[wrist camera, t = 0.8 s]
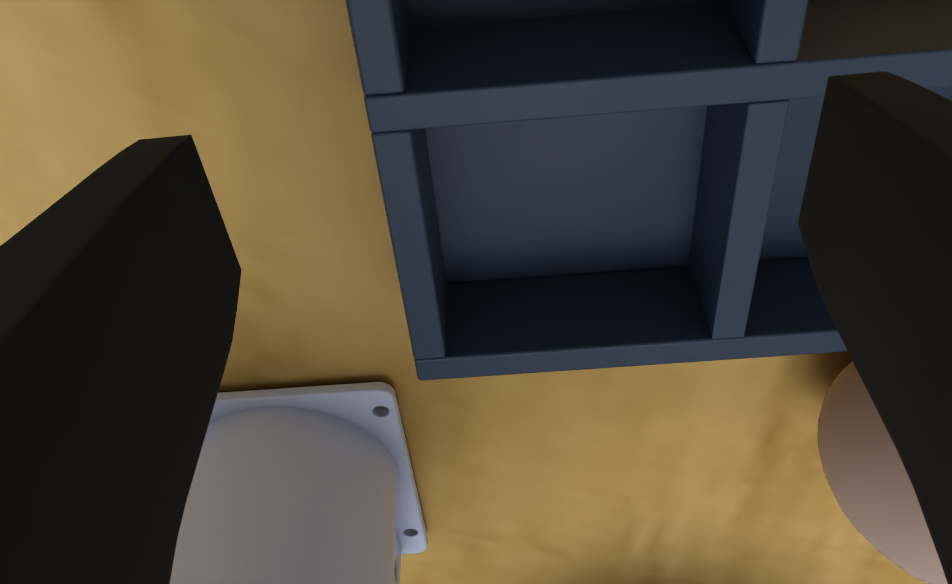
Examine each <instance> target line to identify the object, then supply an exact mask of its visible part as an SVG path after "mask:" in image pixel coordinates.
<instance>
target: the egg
mask: <svg viewBox="0 0 952 584" xmlns="http://www.w3.org/2000/svg"><path fill="white" fill-rule="evenodd" d="M818 448H819V453H820V458H821V462H822V466H823V470H824V473H825V475H826V478H827V480H828V483H829V485H830V487H831V489H832V491H833V493H834V495H835V497H836V499H837V501H838V503H839V505H840V507H841V509H842V511H843V512H844V514H845V515H846V516H847V517H848V519H849V520H850V521H851V523H852V524H853V525H854V526H855V528H856V529H857V530H858V531H859V532H860V533H861V534H862V535H863V536H864V537H865V538H866V539H867V540H868V541H869V542H870V543H871V544H872V545H873V546H874V547H875V548H876V549H877V550H878V551H879V552H880V553H882V554H883V555H884V556H885V557H886V558H888V559H889V560H890V561H892V562H893V563H894V564H896V565H897V566H899V567H900V568H901V569H903V570H904V571H905V572H907V573H908V574H909V575H911V576H913V577H916V578H918V579H920V580H922V581H924V582H927V583H929V584H948V583H947V580H946V577H945V574H944V571H943V568H942V565H941V562H940V560H939V557H938V554H937V551H936V549H935V546H934V543H933V540H932V538H931V535H930V532H929V529H928V527H927V524H926V521H925V518H924V515H923V513H922V510H921V507H920V504H919V502H918V499H917V496H916V493H915V491H914V488H913V485H912V483H911V481H910V479H909V476H908V474H907V472H906V470H905V467H904V465H903V463H902V460H901V458H900V456H899V454H898V451H897V449H896V447H895V445H894V443H893V441H892V439H891V437H890V435H889V433H888V431H887V429H886V427H885V425H884V423H883V421H882V419H881V417H880V415H879V413H878V411H877V409H876V407H875V405H874V403H873V401H872V399H871V397H870V395H869V393H868V391H867V389H866V387H865V385H864V383H863V381H862V379H861V377H860V375H859V373H858V371H857V369H856V367H855V365H854V363H853V361H852V362H851V363H850V364H849V365H847V366H846V367H845V368H844V369H843V370H842V371H841V372H840V374H839V375H838V376H837V377H836V378H835V380H834V381H833V383H832V385H831V387H830V389H829V391H828V393H827V395H826V396H825V398H824V401H823V405H822V408H821V412H820V416H819V420H818Z"/></svg>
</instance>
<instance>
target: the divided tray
mask: <svg viewBox="0 0 952 584" xmlns="http://www.w3.org/2000/svg"><path fill="white" fill-rule="evenodd" d="M346 5H347V10H348V15H349V20H350V26H351V31H352V36H353V41H354V47H355V52H356V57H357V62H358V67H359V73H360V78H361V83H362V88H363V92H364V93H365V97H364V100H365V106H366V111H367V116H368V121H369V126H370V130H371V132H372V134H371V136H372V142H373V147H374V152H375V157H376V162H377V168H378V173H379V178H380V183H381V189H382V194H383V199H384V204H385V210H386V215H387V220H388V225H389V230H390V236H391V241H392V246H393V251H394V257H395V262H396V267H397V272H398V277H399V283H400V288H401V293H402V298H403V304H404V309H405V314H406V319H407V324H408V330H409V335H410V340H411V345H412V351H413V356H414V358H415V359H414V361H415V366H416V371H417V376H418V379H419V380H435V379H450V378H464V377H479V376H493V375H508V374H523V373H537V372H552V371H567V370H581V369H596V368H611V367H625V366H640V365H655V364H669V363H684V362H698V361H713V360H728V359H742V358H757V357H772V356H786V355H801V354H816V353H830V352H845V351H847V349H846V347H845V345H844V343H843V341H842V339H841V337H840V335H839V333H838V331H837V329H836V327H835V324H834V322H833V320H832V318H831V316H830V314H829V312H828V310H827V308H826V306H825V304H824V302H823V299H822V297H821V295H820V293H819V290H818V287H817V284H816V281H815V278H814V275H813V272H812V269H811V266H810V263H809V259H808V256H807V253H806V249H805V246H804V242H803V239H802V236H801V232H800V229H799V225H798V220H799V215H800V210H801V205H802V201H803V196H804V191H805V186H806V182H807V177H808V172H809V167H810V162H811V158H812V153H813V148H814V143H815V139H816V134H817V129H818V124H819V120H820V115H821V110H822V105H823V100H824V96H825V91H826V86H827V81H828V77H829V76H836V75H847V74H858V73H869V72H880V71H886V72H889V73H892V74H894V75H897V76H900V77H902V78H905V79H907V80H909V81H912V82H914V83H916V84H918V85H920V86H922V87H925V88H927V89H929V90H931V91H933V92H935V93H937V94H939V95H941V96H943V97H945V98H947V99H949V100H951V101H952V0H346Z"/></svg>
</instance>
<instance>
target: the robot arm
mask: <svg viewBox="0 0 952 584" xmlns="http://www.w3.org/2000/svg"><path fill="white" fill-rule="evenodd" d="M798 225H799V229H800V232H801V236H802V239H803V242H804V246H805V249H806V253H807V256H808V259H809V263H810V266H811V269H812V272H813V275H814V278H815V281H816V284H817V287H818V290H819V293H820V295H821V297H822V299H823V302H824V304H825V306H826V308H827V310H828V312H829V314H830V316H831V318H832V320H833V322H834V324H835V327H836V329H837V331H838V333H839V335H840V337H841V339H842V341H843V343H844V345H845V347H846V349H847V351H848V353H849V355H850V357H851V359H852V361H853V363H854V365H855V367H856V369H857V371H858V373H859V375H860V377H861V379H862V381H863V383H864V385H865V387H866V389H867V391H868V393H869V395H870V397H871V399H872V401H873V403H874V405H875V407H876V409H877V411H878V413H879V415H880V417H881V419H882V421H883V423H884V425H885V427H886V429H887V431H888V433H889V435H890V437H891V439H892V441H893V443H894V445H895V447H896V449H897V451H898V454H899V456H900V458H901V460H902V463H903V465H904V467H905V470H906V472H907V474H908V476H909V479H910V481H911V483H912V485H913V488H914V491H915V493H916V496H917V499H918V502H919V504H920V507H921V510H922V513H923V515H924V518H925V521H926V524H927V527H928V529H929V532H930V535H931V538H932V540H933V543H934V546H935V549H936V551H937V554H938V557H939V560H940V562H941V565H942V568H943V571H944V574H945V577H946V580H947V583H948V584H952V101H951V100H949V99H947V98H945V97H943V96H941V95H939V94H937V93H935V92H933V91H931V90H929V89H927V88H925V87H922V86H920V85H918V84H916V83H914V82H912V81H909V80H907V79H905V78H902V77H900V76H897V75H894V74H892V73H889V72H886V71H880V72H869V73H858V74H847V75H836V76H829V77H828V81H827V86H826V91H825V96H824V100H823V105H822V110H821V115H820V120H819V124H818V129H817V134H816V139H815V143H814V148H813V153H812V158H811V162H810V167H809V172H808V177H807V182H806V186H805V191H804V196H803V201H802V205H801V210H800V215H799V220H798ZM240 277H241V268H240V265H239V262H238V260H237V257H236V254H235V252H234V249H233V246H232V243H231V241H230V238H229V235H228V233H227V230H226V227H225V225H224V222H223V219H222V217H221V214H220V211H219V208H218V206H217V203H216V200H215V198H214V195H213V192H212V190H211V187H210V184H209V182H208V179H207V176H206V173H205V171H204V168H203V165H202V163H201V160H200V157H199V155H198V152H197V149H196V146H195V144H194V141H193V138H192V136H191V135H184V136H174V137H163V138H152V139H141V140H138V141H137V142H135V143H133V144H132V145H130V146H129V147H127V148H125V149H124V150H122V151H121V152H120V153H118V154H117V155H115V156H114V157H113V158H111V159H110V160H109V161H107V162H106V163H105V164H103V165H102V166H101V167H100V168H98V169H97V170H96V171H94V172H93V173H92V174H91V175H89V176H88V177H87V178H86V179H84V180H83V181H82V182H81V183H79V184H78V185H77V186H76V187H74V188H73V189H72V190H71V191H69V192H68V193H67V194H66V195H64V196H63V197H62V198H61V199H59V200H58V201H57V202H56V203H54V204H53V205H52V206H51V207H49V208H48V209H47V210H46V211H44V212H43V213H42V214H41V215H39V216H38V217H37V218H35V219H34V220H33V221H32V222H30V223H29V224H28V225H27V226H25V227H24V228H23V229H22V230H20V231H19V232H18V233H17V234H15V235H14V236H13V237H12V238H10V239H9V240H8V241H6V242H5V243H4V244H2V245H1V246H0V584H400V565H401V554H412V553H420V552H422V551H424V550H425V549H426V548H427V544H428V537H427V533H426V528H425V524H424V519H423V515H422V510H421V506H420V501H419V497H418V492H417V488H416V483H415V479H414V474H413V470H412V465H411V461H410V456H409V452H408V447H407V443H406V438H405V434H404V429H403V425H402V420H401V416H400V411H399V407H398V402H397V398H396V393H395V390H394V389H393V387H391V386H390V385H389V384H386V383H383V382H368V383H354V384H339V385H324V386H310V387H295V388H281V389H266V390H251V391H237V392H222V393H218V391H219V387H220V383H221V380H222V376H223V373H224V369H225V366H226V362H227V358H228V355H229V351H230V347H231V343H232V339H233V332H234V325H235V318H236V312H237V303H238V295H239V286H240ZM378 406H383V407H378Z"/></svg>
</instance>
